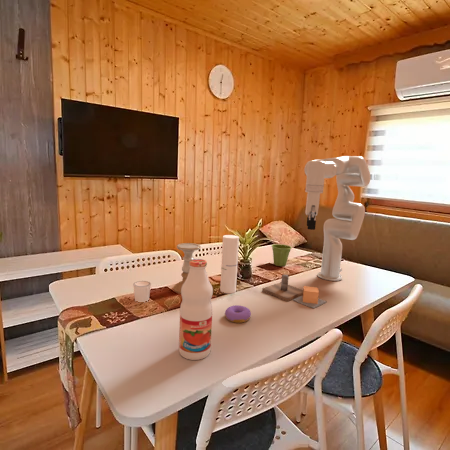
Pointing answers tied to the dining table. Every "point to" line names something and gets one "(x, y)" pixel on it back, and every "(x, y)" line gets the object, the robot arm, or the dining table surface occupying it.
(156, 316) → the dining table surface
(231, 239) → the cylindrical container
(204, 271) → the fruit juice
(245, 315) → the donut
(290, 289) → the post stand
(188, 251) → the candle holder
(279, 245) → the plant pot
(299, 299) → the rubber pad
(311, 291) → the orange bevelled cube
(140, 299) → the shot glass
